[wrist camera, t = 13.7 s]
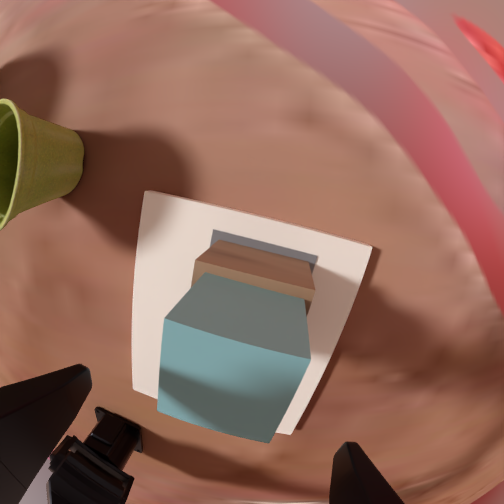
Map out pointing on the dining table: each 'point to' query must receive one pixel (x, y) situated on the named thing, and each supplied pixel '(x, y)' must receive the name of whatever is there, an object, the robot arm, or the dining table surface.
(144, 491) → the dining table surface
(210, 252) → the walnut block
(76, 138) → the plant pot
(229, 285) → the teal cube
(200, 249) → the board
